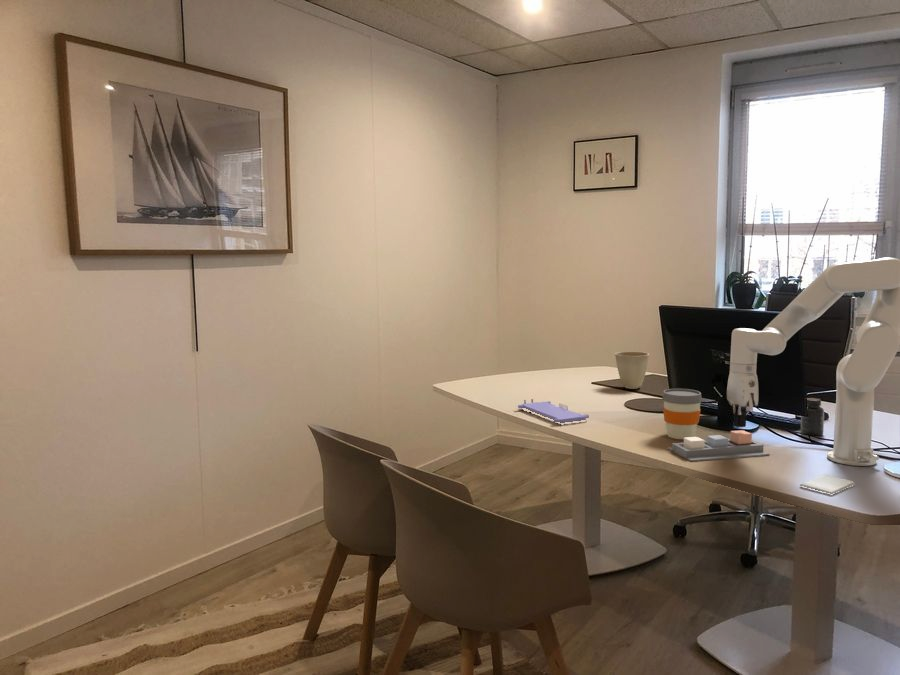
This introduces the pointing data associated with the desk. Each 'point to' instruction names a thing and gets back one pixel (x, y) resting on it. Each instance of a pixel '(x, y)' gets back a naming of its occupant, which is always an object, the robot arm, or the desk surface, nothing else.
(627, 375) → the plant pot
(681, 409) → the reusable coffee cup
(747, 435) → the terracotta key
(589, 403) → the desk surface
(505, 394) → the desk surface
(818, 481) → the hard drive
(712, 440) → the slate key
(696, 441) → the ivory key
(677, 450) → the tray
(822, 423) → the supplement bottle
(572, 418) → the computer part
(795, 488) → the desk surface
